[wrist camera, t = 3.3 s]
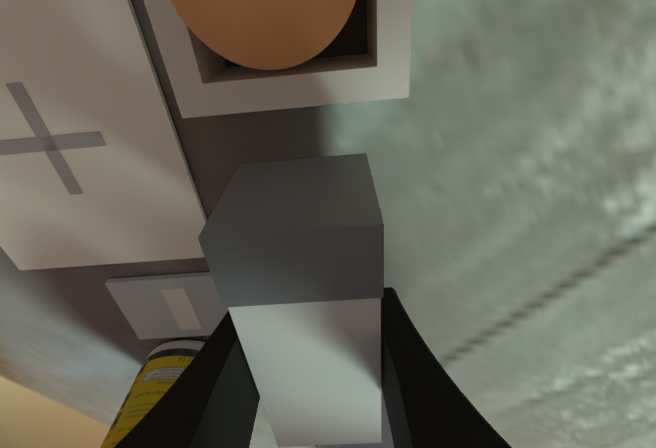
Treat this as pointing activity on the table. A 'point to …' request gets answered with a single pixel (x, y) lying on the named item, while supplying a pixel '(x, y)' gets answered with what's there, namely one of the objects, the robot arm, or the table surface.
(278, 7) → the button
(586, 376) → the table surface
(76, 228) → the paper sheet
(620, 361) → the table surface
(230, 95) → the button box
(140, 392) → the supplement bottle
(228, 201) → the grey rectangular prism
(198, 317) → the card
